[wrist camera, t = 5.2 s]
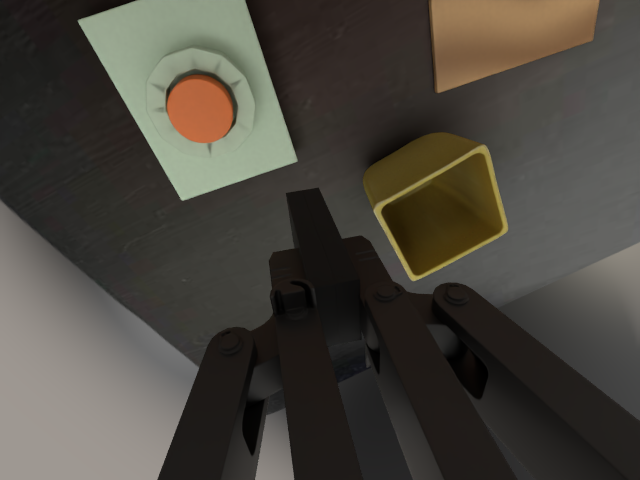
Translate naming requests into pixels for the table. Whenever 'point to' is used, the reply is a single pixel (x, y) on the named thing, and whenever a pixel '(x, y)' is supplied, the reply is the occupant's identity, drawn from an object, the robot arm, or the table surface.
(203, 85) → the round orange button
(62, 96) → the table surface
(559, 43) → the brown wooden board
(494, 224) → the flower pot
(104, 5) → the table surface
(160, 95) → the green button base
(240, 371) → the robot arm
